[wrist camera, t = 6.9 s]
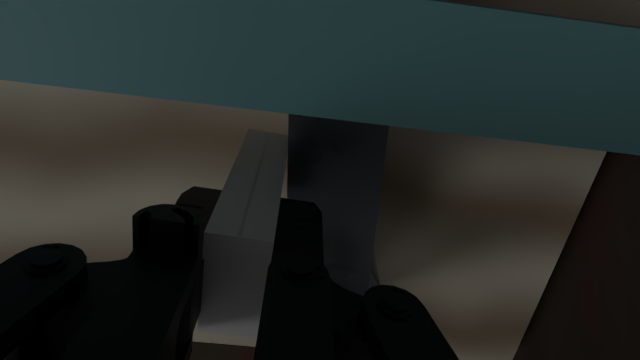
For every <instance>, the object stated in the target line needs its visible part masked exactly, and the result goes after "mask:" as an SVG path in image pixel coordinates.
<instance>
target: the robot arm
mask: <svg viewBox="0 0 640 360" xmlns="http://www.w3.org/2000/svg"><path fill="white" fill-rule="evenodd" d="M287 152H288V135H284V134H277V133H271V132H265V131H259V130H253V129H248V132H247V134H246V136H245V139H244V141H243V143H242V146H241V148H240V150H239V153H238V155H237V157H236V159H235V162H234V164H233V166H232V169H231V171H230V173H229V176H228V178H227V180H226V183H225V185H224V187H223V190H218V189H211V188H204V187H197V186H193V187H191V188H190V189H188V190H186V191H185V192H183V193H181V195H180V197H179V198H178V200H177V201H176V203H175V204H159V205H152V206H148V207H146V208H143V209H140V210H139V211H137V212H136V213H135V214H134V215H132V235H133V250H132V252H131V253H130V255H129V256H128V258H125V259H122V260H115V261H106V262H92V263H87V256H86V255H85V253H84V252H83V250H82V249H80V248H78V247H76V246H74V245H69V244H63V243H50V244H42V245H38V246H34V247H30V248H28V249H26V250H23V251H21V252H19V253H17V254H15V255H14V256H12V257H10V258H9V259H7V260H6V261H4V262H2V263H1V264H0V360H189V357H190V354H191V351H192V341H193V332H194V329H195V326H196V323H197V320H198V328H197V331H200V332H208V333H216V334H225V335H233V336H241V337H250V338H257V341H256V348H255V354H254V360H459V359H458V357H457V356H456V354H455V353H454V351H453V349H452V348H451V346H450V345H449V343H448V342H447V340H446V339H445V337H444V336H443V334H442V332H441V331H440V329H439V328H438V326H437V325H436V323H435V322H434V320H433V318H432V317H431V315H430V314H429V312H428V311H427V309H426V308H425V306H424V305H423V304H422V302H421V301H420V300H419V299H418V298H417V297H416V296H415V295H413V294H411V293H410V292H408V291H407V290H405V289H402V288H399V287H396V286H392V285H377V286H372V287H371V288H370V289H368V290H367V291H365V294H364V296H362V295H360V294H357V293H354V292H351V291H349V290H347V289H345V288H342V287H341V286H339V285H338V284H336V283H335V282H334V281H333V280H332V279H331V278H330V275H329V273H328V270H327V268H326V267H325V266H324V254H323V226H322V212H321V210H320V209H319V208H318V206H317V205H316V204H315V203H314V202H308V201H301V200H294V199H287V198H281V192H282V186H283V179H284V172H285V166H286V159H287ZM15 348H16V349H15ZM14 349H15V350H14Z"/></svg>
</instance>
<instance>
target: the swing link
mask: <svg viewBox="0 0 640 360" xmlns="http://www.w3.org/2000/svg"><path fill="white" fill-rule="evenodd" d="M388 131H389V126H387V125H379V124H371V123H362V122H354V121H345V120H337V119H328V118H320V117H311V116H303V115H294V114H289V117H288V168H287V199H294V200H301V201H308V202H314V203H315V204H316V205H317V206H318V208H319V209H320V210H321V212H322V226H323V254H324V266H325V267H326V268H327V270H328V273H329V275H330V278H331V279H332V280H333V281H334V282H335V283H336V284H338V285H339V286H341V287H342V288H345V289H347V290H349V291H351V292H354V293H357V294H360V295H362V296H364V294H365V291H367V290H368V289H370V288H371V287H372V286H377V285H380V281H379V276H378V271H377V266H376V261H375V256H374V251H373V248H374V240H375V232H376V224H377V217H378V209H379V201H380V193H381V186H382V178H383V170H384V162H385V154H386V147H387V139H388Z"/></svg>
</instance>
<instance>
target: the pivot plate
mask: <svg viewBox="0 0 640 360" xmlns="http://www.w3.org/2000/svg"><path fill="white" fill-rule="evenodd" d="M448 1H455V2H463V3H470V4H477V5H485V6H492V7H499V8H507V9H514V10H521V11H529V12H536V13H543V14H551V15H558V16H565V17H572V18H580V19H587V20H594V21H602V22H609V23H616V24H624V25H631V26H638V27H640V0H448ZM288 117H289V114H286V113H277V112H269V111H260V110H252V109H243V108H235V107H227V106H218V105H210V104H201V103H193V102H184V101H176V100H167V99H159V98H150V97H142V96H133V95H125V94H116V93H108V92H99V91H91V90H83V89H74V88H66V87H57V86H49V85H40V84H32V83H23V82H15V81H6V80H0V264H1V263H2V262H4V261H6V260H7V259H9V258H10V257H12V256H14V255H15V254H17V253H19V252H21V251H23V250H26V249H28V248H30V247H34V246H38V245H42V244H50V243H63V244H69V245H74V246H76V247H78V248H80V249H82V250H83V252H84V253H85V255H86V256H87V263H92V262H106V261H115V260H122V259H125V258H128V256H129V255H130V253H131V252H132V250H133V235H132V215H134V214H135V213H136V212H137V211H139V210H140V209H143V208H146V207H148V206H152V205H159V204H175V203H176V201H177V200H178V198H179V197H180V195H181V193H183V192H185V191H186V190H188V189H190V188H191V187H193V186H197V187H204V188H211V189H218V190H223V187H224V185H225V183H226V180H227V178H228V176H229V173H230V171H231V169H232V166H233V164H234V162H235V159H236V157H237V155H238V153H239V150H240V148H241V146H242V143H243V141H244V139H245V136H246V134H247V132H248V129H253V130H259V131H265V132H271V133H277V134H284V135H288ZM606 152H607V151H599V150H591V149H582V148H574V147H565V146H557V145H548V144H540V143H531V142H523V141H514V140H506V139H498V138H489V137H481V136H472V135H464V134H455V133H447V132H438V131H430V130H421V129H413V128H404V127H396V126H389V131H388V139H387V147H386V154H385V162H384V170H383V178H382V186H381V193H380V201H379V209H378V217H377V224H376V232H375V240H374V248H373V251H374V256H375V261H376V266H377V271H378V276H379V281H380V285H392V286H396V287H399V288H402V289H405V290H407V291H408V292H410V293H411V294H413V295H415V296H416V297H417V298H418V299H419V300H420V301H421V302H422V304H423V305H424V306H425V308H426V309H427V311H428V312H429V314H430V315H431V317H432V318H433V320H434V322H435V323H436V325H437V326H438V328H439V329H440V331H441V332H442V334H443V336H444V337H445V339H446V340H447V342H448V343H449V345H450V346H451V348H452V349H453V351H454V353H455V354H456V356H457V357H458V359H459V360H513V358H514V355H515V353H516V351H517V349H518V346H519V344H520V342H521V340H522V338H523V335H524V333H525V331H526V329H527V327H528V324H529V322H530V320H531V318H532V316H533V313H534V311H535V309H536V307H537V304H538V302H539V300H540V298H541V296H542V293H543V291H544V289H545V287H546V285H547V282H548V280H549V278H550V276H551V274H552V271H553V269H554V267H555V265H556V262H557V260H558V258H559V256H560V254H561V251H562V249H563V247H564V245H565V243H566V240H567V238H568V236H569V234H570V232H571V229H572V227H573V225H574V223H575V220H576V218H577V216H578V214H579V212H580V209H581V207H582V205H583V203H584V201H585V198H586V196H587V194H588V192H589V190H590V187H591V185H592V183H593V181H594V178H595V176H596V174H597V172H598V170H599V167H600V165H601V163H602V161H603V159H604V156H605V154H606ZM287 168H288V152H287V159H286V166H285V172H284V179H283V186H282V192H281V198H287ZM197 328H198V320H197V323H196V326H195V329H194V332H193V341H196V342H207V343H219V344H231V345H242V346H254V347H256V341H257V338H250V337H241V336H233V335H225V334H216V333H208V332H200V331H197Z"/></svg>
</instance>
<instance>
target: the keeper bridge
mask: <svg viewBox="0 0 640 360" xmlns="http://www.w3.org/2000/svg"><path fill="white" fill-rule="evenodd" d="M0 80H6V81H15V82H23V83H32V84H40V85H49V86H57V87H66V88H74V89H83V90H91V91H99V92H108V93H116V94H125V95H133V96H142V97H150V98H159V99H167V100H176V101H184V102H193V103H201V104H210V105H218V106H227V107H235V108H243V109H252V110H260V111H269V112H277V113H286V114H294V115H303V116H311V117H320V118H328V119H337V120H345V121H354V122H362V123H371V124H379V125H387V126H396V127H404V128H413V129H421V130H430V131H438V132H447V133H455V134H464V135H472V136H481V137H489V138H498V139H506V140H514V141H523V142H531V143H540V144H548V145H557V146H565V147H574V148H582V149H591V150H599V151H608V152H616V153H625V154H633V155H640V27H638V26H631V25H624V24H616V23H609V22H602V21H594V20H587V19H580V18H572V17H565V16H558V15H551V14H543V13H536V12H529V11H521V10H514V9H507V8H499V7H492V6H485V5H477V4H470V3H463V2H455V1H448V0H0Z"/></svg>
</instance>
